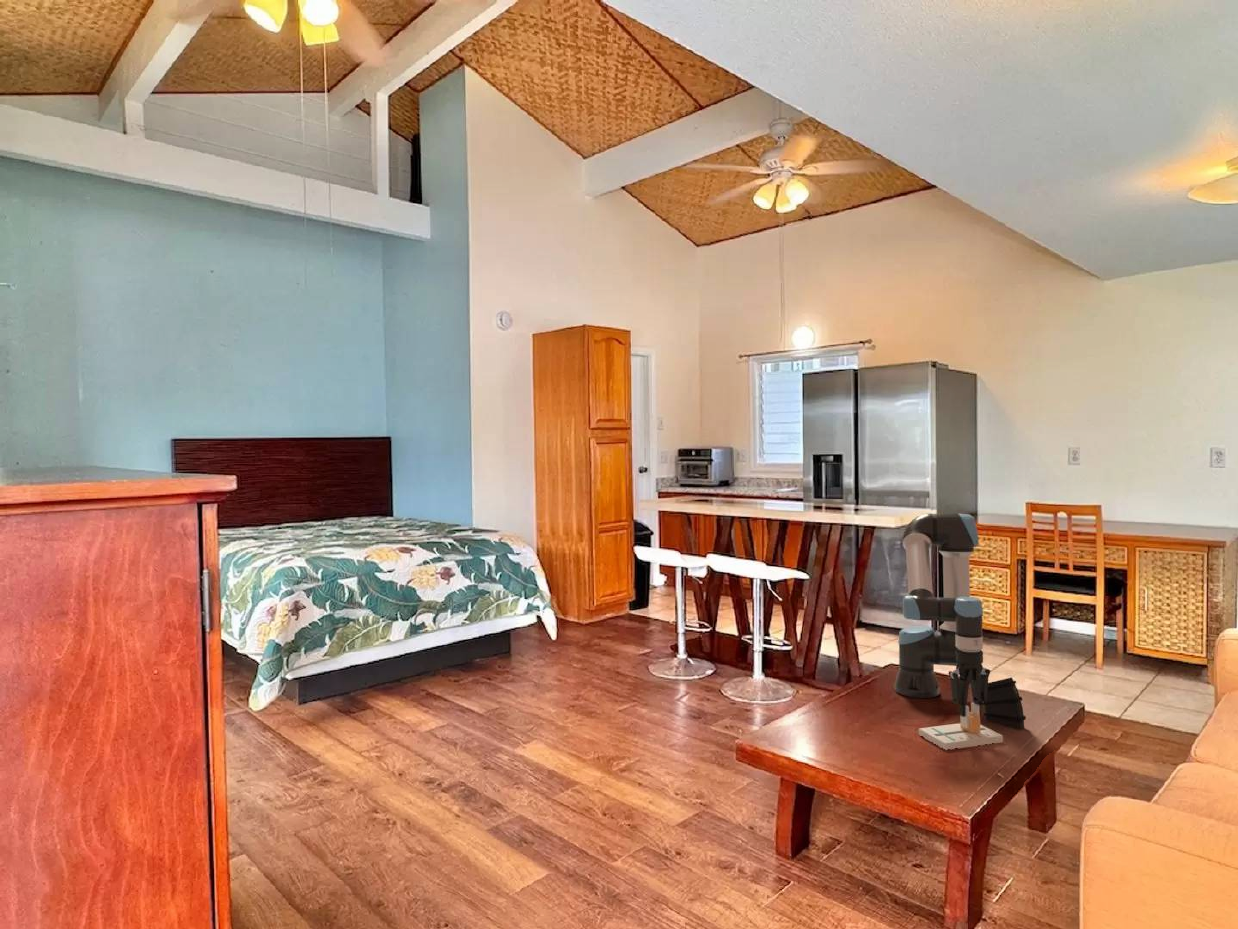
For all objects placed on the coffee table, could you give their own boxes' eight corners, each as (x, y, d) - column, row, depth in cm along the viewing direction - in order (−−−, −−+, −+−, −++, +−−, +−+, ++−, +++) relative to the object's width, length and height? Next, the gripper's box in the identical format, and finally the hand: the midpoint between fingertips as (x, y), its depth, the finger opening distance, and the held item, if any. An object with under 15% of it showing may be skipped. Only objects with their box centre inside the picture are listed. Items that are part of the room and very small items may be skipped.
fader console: (918, 735, 223) (918, 728, 223) (974, 727, 228) (974, 721, 228) (945, 750, 212) (945, 743, 212) (1002, 742, 216) (1002, 735, 216)
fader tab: (960, 727, 223) (959, 711, 223) (968, 726, 224) (968, 710, 224) (972, 733, 218) (972, 717, 218) (980, 732, 219) (980, 716, 219)
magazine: (1030, 728, 223) (1008, 679, 228) (991, 735, 232) (970, 688, 237) (1036, 725, 225) (1013, 676, 230) (997, 732, 235) (976, 685, 240)
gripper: (955, 654, 215) (956, 733, 215) (1000, 650, 219) (1001, 727, 219) (938, 648, 222) (939, 724, 222) (982, 643, 226) (983, 718, 226)
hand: (970, 725), depth 221 cm, fingers closed on fader tab, 3 cm apart
